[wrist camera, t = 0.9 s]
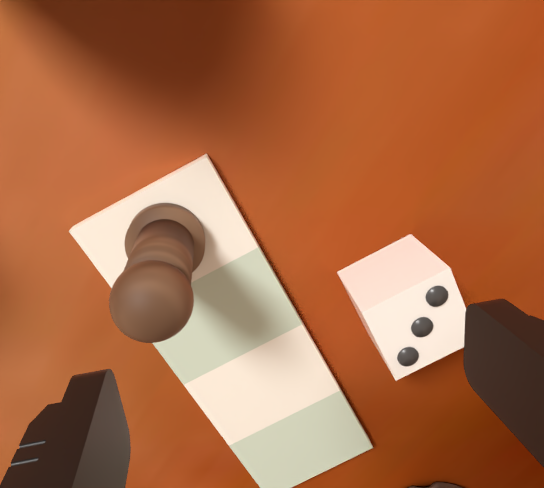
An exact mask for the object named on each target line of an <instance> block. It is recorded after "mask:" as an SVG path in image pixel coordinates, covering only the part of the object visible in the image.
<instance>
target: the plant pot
mask: <svg viewBox="0 0 544 488" xmlns="http://www.w3.org/2000/svg"><path fill="white" fill-rule="evenodd" d="M408 488H421V487H416V486H411V487H408ZM425 488H462V487H460V486H457V485H454V484H450V483H444V482H435V483H433V484H432V485H431V486H430V487H425Z"/></svg>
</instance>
